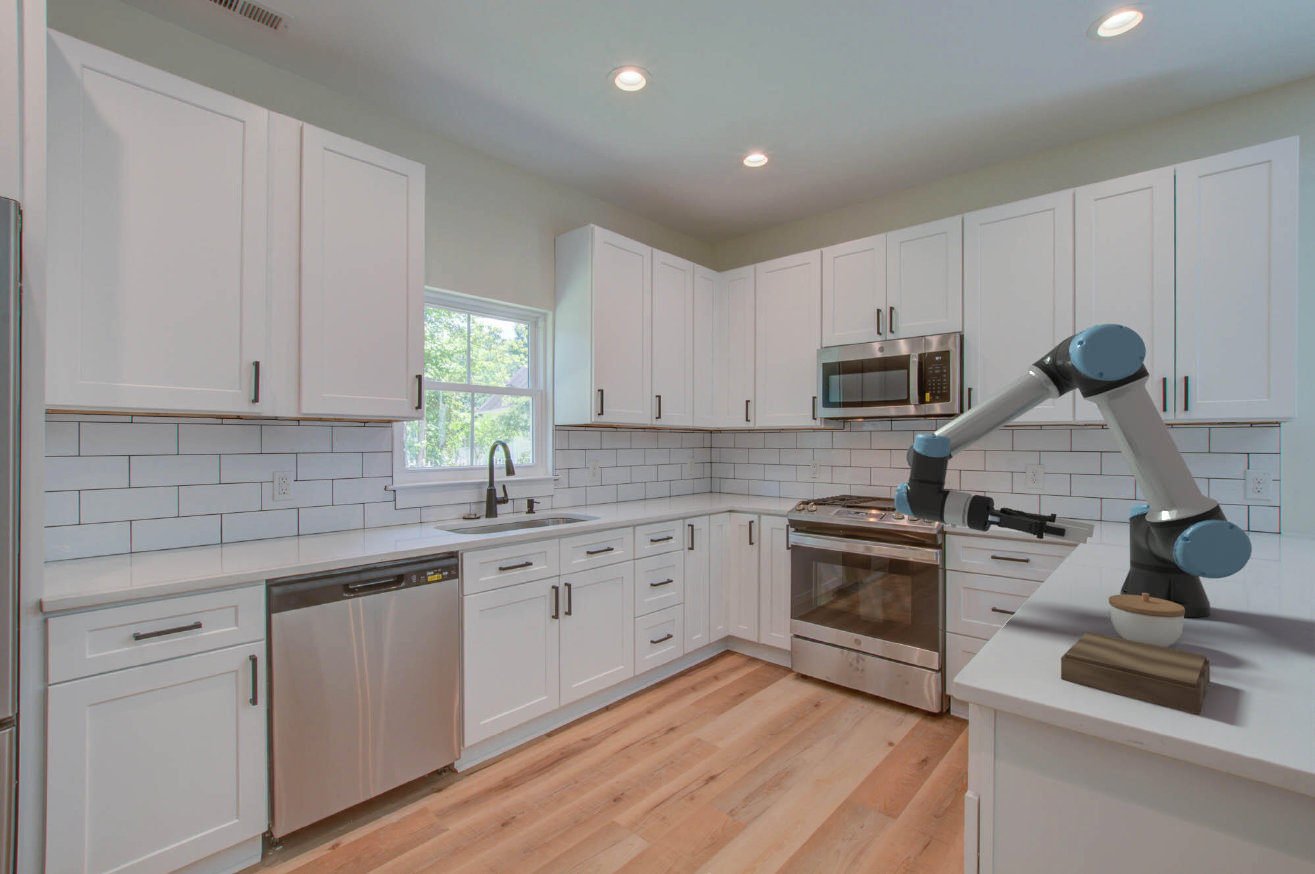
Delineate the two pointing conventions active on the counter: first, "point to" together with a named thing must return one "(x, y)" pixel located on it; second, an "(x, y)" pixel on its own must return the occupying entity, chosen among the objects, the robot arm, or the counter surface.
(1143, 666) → the walnut stand
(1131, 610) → the lidded jar
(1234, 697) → the counter surface
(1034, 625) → the counter surface
